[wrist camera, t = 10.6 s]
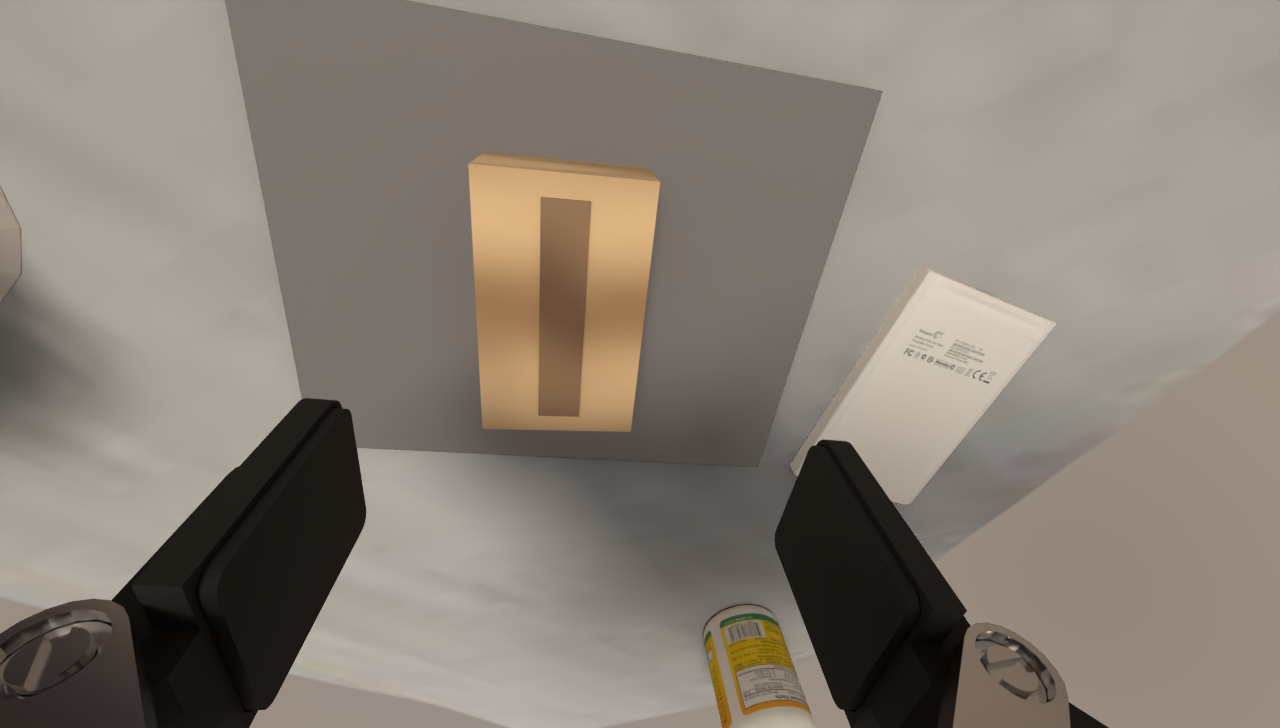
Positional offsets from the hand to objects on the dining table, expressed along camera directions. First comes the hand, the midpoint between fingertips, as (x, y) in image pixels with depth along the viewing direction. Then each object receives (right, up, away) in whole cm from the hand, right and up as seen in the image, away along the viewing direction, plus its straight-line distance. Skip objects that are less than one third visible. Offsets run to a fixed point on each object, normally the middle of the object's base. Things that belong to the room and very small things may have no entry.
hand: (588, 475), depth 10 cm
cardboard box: (-2, +6, +11) cm, 12 cm away
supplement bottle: (+8, -16, +25) cm, 31 cm away
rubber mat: (-2, +6, +11) cm, 13 cm away
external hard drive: (+16, +1, +17) cm, 23 cm away
